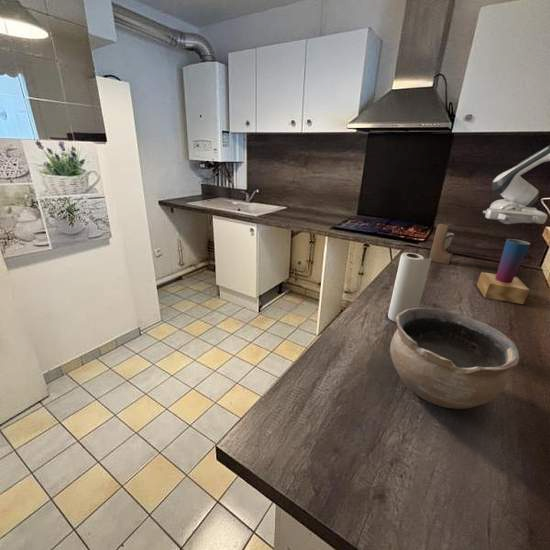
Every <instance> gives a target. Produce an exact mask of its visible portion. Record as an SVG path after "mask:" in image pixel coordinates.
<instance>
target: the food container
mask: <svg viewBox="0 0 550 550" xmlns="http://www.w3.org/2000/svg"><path fill="white" fill-rule="evenodd" d="M454 235H455V233H453V232H448V233H447V236H446V240H445V243H444V249H445V251H446V252H449V250H450V247H451V244H452V241H453V238H454Z"/></svg>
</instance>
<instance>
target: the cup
mask: <svg viewBox="0 0 550 550" xmlns="http://www.w3.org/2000/svg"><path fill="white" fill-rule="evenodd" d="M530 245H531V242H529V241H526V240H523V239H516V238H506V240H505V242H504V246H503V250H502V253H501V257H500V261H499V265H498V268H497V271H496V274H497V275H496V278H495V279H496V280H498V281H501V282H505V283H511V282H512V281H513V279H514V277H516V274H517V272H518V270H519V268H520V266H521V264H522V262H523V260H524V258H525V256H526V254H527V252H528V250H529V248H530Z"/></svg>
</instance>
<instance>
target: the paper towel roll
mask: <svg viewBox="0 0 550 550" xmlns="http://www.w3.org/2000/svg"><path fill="white" fill-rule="evenodd" d="M431 259H432V258H429V257H426V258H425V257H424V256H423V255H421V254H419V253H414V252H402V253H401V254H400V257H399V263H398V266H397V272H396V277H395V281H394V286H393V290H392V296H391V299H390V304H389V308H388V313H387V317H388V319H389V320H390V321H392V322H394V323H397V322H396V316H397V315H398V314H399V313H401V312H403V311H405V310H407V309H413V308H420V305H421V300H422V296H423V292H424V289H425V285H426V281H427V278H428V275H429V269H430V266H431V262H432V261H431Z"/></svg>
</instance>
